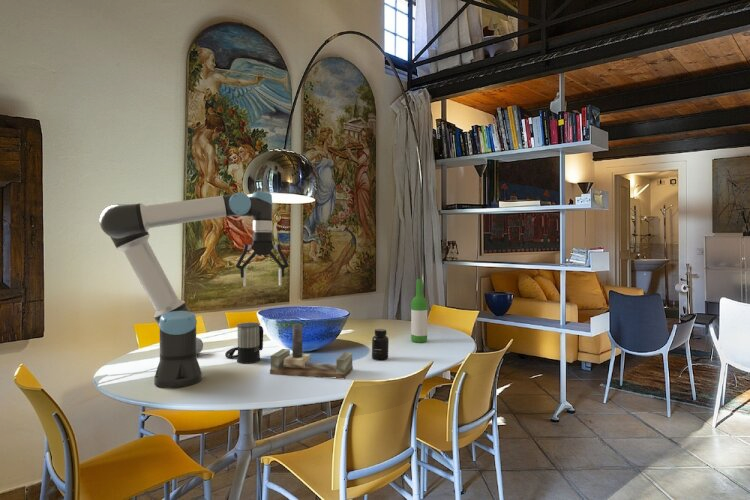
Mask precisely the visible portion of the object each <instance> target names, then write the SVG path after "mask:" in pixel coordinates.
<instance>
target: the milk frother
mask: <svg viewBox="0 0 750 500" xmlns="http://www.w3.org/2000/svg"><path fill="white" fill-rule="evenodd" d="M236 327H237V346H236V347H233V348H231V349H228V350H227V351H226V352H225V353H224V354H225V355H224V356H225V357H226V358H227V359H236V362H237V363H239V364H254V363H259V362H260V361H261V354H260V352H261V351H263V349H264V328H263V326H262V325H261V324H260V323H259V322H242V323H238V324H236ZM236 351H237V354H235V352H236ZM234 354H235V355H234Z"/></svg>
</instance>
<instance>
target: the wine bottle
mask: <svg viewBox="0 0 750 500" xmlns="http://www.w3.org/2000/svg"><path fill="white" fill-rule="evenodd" d="M415 282H416V283H415V285H416V290H415V291H416V292H415V293H416V294H415V296H414V297H413V298H412V300H411V305H410V306H411V307H410V308H411V309H410V311H411V313H410V317H411V318H410V339H411V342H413V343H415V344H417V343H418V344H419V343H420V344H421V343H426V342H427V341H428V301H427V299H426V298H425V296H424V294H423V286H424V285H423V279H421V278H418V279H416V280H415Z"/></svg>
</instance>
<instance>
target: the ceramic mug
mask: <svg viewBox="0 0 750 500" xmlns="http://www.w3.org/2000/svg"><path fill="white" fill-rule="evenodd" d="M203 348H204V342H203V340H202V339H201V338H199V337H196V355H198V354H199V353H201V352H202V351H203Z"/></svg>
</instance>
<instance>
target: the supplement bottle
mask: <svg viewBox="0 0 750 500" xmlns="http://www.w3.org/2000/svg"><path fill="white" fill-rule="evenodd" d="M371 339H372V340H371V359H372V360H374V361H387V360H388V359H389V343H390V342H389V337H388V336H387V329H384V328H376V329H374V336H372V338H371Z"/></svg>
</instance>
